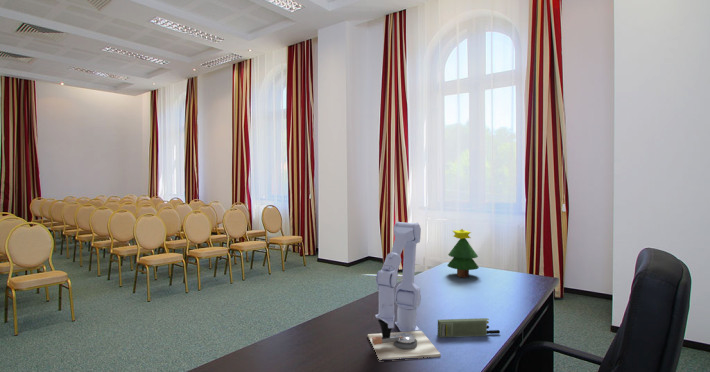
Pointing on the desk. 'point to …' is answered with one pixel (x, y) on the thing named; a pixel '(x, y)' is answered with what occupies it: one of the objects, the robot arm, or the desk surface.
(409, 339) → the frying pan
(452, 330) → the handheld radio
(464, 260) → the decorative tree
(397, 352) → the board
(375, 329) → the desk surface
